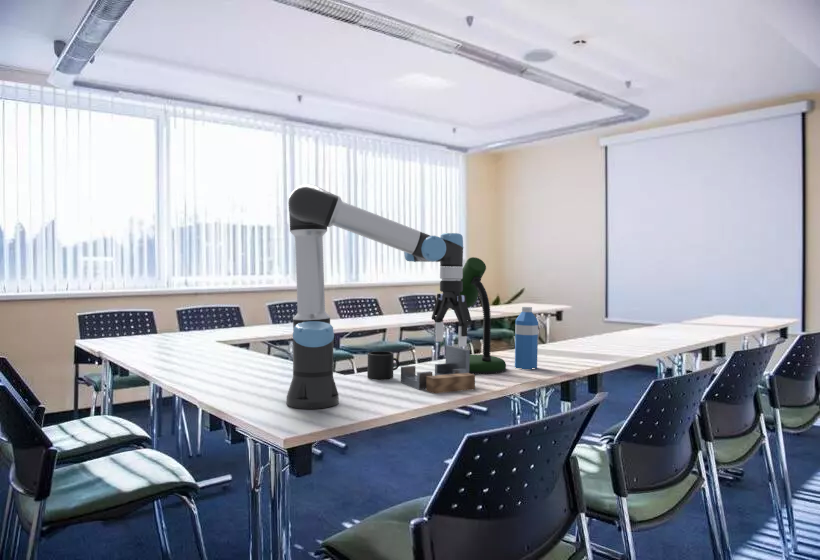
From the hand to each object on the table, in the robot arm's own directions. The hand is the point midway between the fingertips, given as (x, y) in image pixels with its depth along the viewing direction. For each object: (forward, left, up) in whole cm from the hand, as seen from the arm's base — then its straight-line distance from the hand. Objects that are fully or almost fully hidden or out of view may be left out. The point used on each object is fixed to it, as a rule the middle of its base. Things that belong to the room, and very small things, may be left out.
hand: (450, 343), depth 185 cm
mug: (-11, +27, -15) cm, 33 cm away
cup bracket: (+7, +10, -15) cm, 20 cm away
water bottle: (+51, +21, -15) cm, 57 cm away
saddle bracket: (-7, +10, -15) cm, 20 cm away
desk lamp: (+31, +31, -15) cm, 46 cm away
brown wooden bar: (0, -1, -15) cm, 15 cm away
